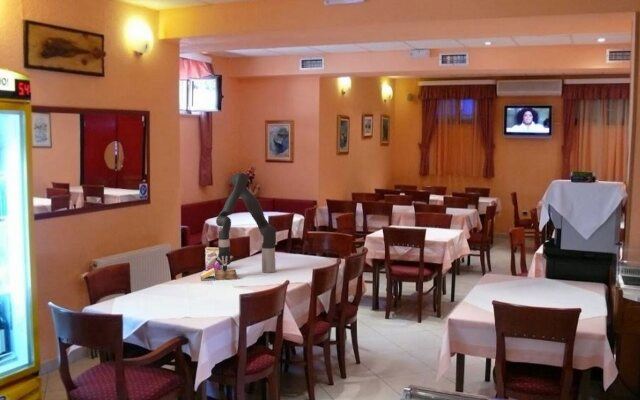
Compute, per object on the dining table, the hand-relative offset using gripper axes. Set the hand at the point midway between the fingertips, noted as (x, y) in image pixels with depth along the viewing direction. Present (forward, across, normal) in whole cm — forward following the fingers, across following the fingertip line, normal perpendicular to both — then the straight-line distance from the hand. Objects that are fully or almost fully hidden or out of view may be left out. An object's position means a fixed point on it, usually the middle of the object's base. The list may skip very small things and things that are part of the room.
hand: (224, 270), depth 425 cm
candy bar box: (+5, +7, -26) cm, 27 cm away
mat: (+4, +12, 0) cm, 12 cm away
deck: (+5, 0, 0) cm, 5 cm away
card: (+2, +10, 0) cm, 11 cm away
